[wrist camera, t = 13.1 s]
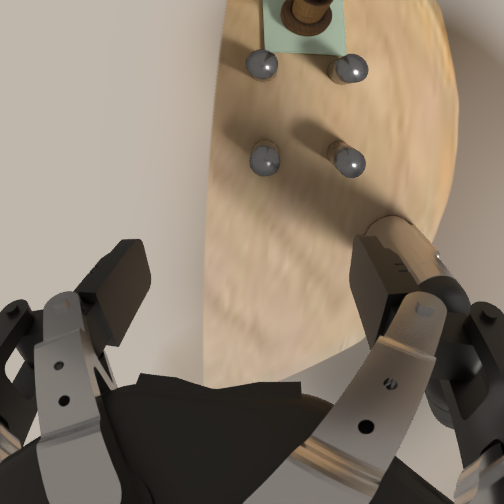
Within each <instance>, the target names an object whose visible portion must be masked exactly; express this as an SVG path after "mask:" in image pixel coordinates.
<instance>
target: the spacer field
mask: <svg viewBox="0 0 504 504" xmlns="http://www.w3.org/2000/svg"><path fill="white" fill-rule="evenodd" d="M246 67H247V70H248V71H249V73H250V74H251V75H252V77H253V78H254V79H256V80H257V81H260V82H267V81H270V80H272V79H273V78H274V77H275V75H276V72H277V67H278V61H277V58H276V56H275V55H274V54H273V53H272V52H270V51H268V50H262V49H261V50H256V51H254V52H252V53H251V54H250V55H249V56H248V58H247V60H246ZM328 75H329V77H330V79H331V80H332V81H333V82H335V83H337V84H340V85H343V84H349V83H355V82H360V81H362V80H364V79H365V78H366V77H367V75H368V65H367V63H366V61H365V60H364V59H363V58H362V57H360V56H358V55H356V54H348V55H345V56H343V57H342V58H340V59H338V60H336V61H334V62H333V63H331V64H330V66H329V68H328ZM327 154H328V158H329V160H330V161H331V162H332V164H333V165H334V166H335V167H336V168H337V169H338V170H339V171H340V172H341V174H342V175H344V176H345V177H348V178H355V177H358V176H360V175H361V174H362V173H363V171H364V170H365V166H366V161H365V158H364V156H363V155H362V154H361V153H360V152H359V151H357V150H356V149H354V148H353V147H351V146H349V145H348V144H346V143H344V142H341V141H338V142H334V143H333V144H331V145H330V147H329V148H328V153H327ZM279 166H280V158H279V151H278V147H277V145H276V144H275V143H274V142H272V141H270V140H261V141H259V142H258V143H256V145H255V146H254V148H253V151H252V154H251V157H250V167H251V169H252V170H253V171H254V172H255V173H256V174H257V175H260V176H270V175H272V174H274V173H275V172H276V171H277V170H278V168H279Z"/></svg>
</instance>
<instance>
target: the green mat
mask: <svg viewBox="0 0 504 504" xmlns="http://www.w3.org/2000/svg"><path fill="white" fill-rule="evenodd" d="M284 2H285V0H263V18H264V41H265V50H268V51H270V52H272V53H299V54H319V55H332V56H342V57H343V56H345V55H346V36H345V20H344V7H343V0H333V2H332V3H331V5H330V8H331V10H332V21H331V23H330V25H329V26H328V27H327V29H326V30H325V31H324V32H322V33H321V34H319V35H316V36H310V37H306V36H300V35H297V34H294V33H292V32H291V31H289V30H288V29H287V28H286V27H285V26H284V24H283V23H282V21H281V16H280V14H281V8H282V5H283V3H284Z"/></svg>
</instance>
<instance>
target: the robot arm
mask: <svg viewBox="0 0 504 504" xmlns="http://www.w3.org/2000/svg"><path fill="white" fill-rule="evenodd" d="M439 256H440V254H439V252H438V251H437V249H436V248H435V247H434V246H433V245H432V244H431V243H430V241H429V240H428V239H427V238H426V237H425V236H424V235H423V234H422V233H421V232H420V230H419V229H418V228H417V227H416V226H415V225H410V224H409V223H408V222H407V221H406V220H404V219H403V218H401V217H397V216H387V217H383V218H381V219H379V220H377V221H376V222H374V223H373V224H372V225H371V226H370V228H369V229H368V230H367V232H366V234H365V235H356V236H355V238H354V243H353V251H352V259H351V266H350V274H349V282H350V288H351V291H352V294H353V297H354V300H355V303H356V306H357V309H358V312H359V315H360V318H361V321H362V324H363V327H364V331H365V334H366V337H367V340H368V344H369V347H370V350H371V351H370V353H369V355H368V356H367V358H366V359H365V361H364V362H363V364H362V365H361V367H360V369H359V370H358V372H357V373H356V375H355V376H354V378H353V379H352V381H351V382H350V384H349V385H348V387H347V388H346V389H345V391H344V392H343V394H342V395H341V396H340V398H339V399H338V401H337V402H336V403H335V405H334V404H332V403H330V402H328V401H326V400H323V399H321V398H318V397H315V396H311V395H308V394H302V393H301V382H256V383H251V384H246V385H240V386H234V387H228V388H222V389H211V388H208V387H204V386H201V385H198V384H194V383H191V382H188V381H185V380H182V379H179V378H176V377H167V376H159V375H150V374H143V373H140V375H139V378H138V381H137V383H136V384H133V385H128V386H123V387H120V388H118V387H117V384H116V382H115V379H114V376H113V373H112V370H111V367H110V364H109V361H108V357H107V355H106V353H105V351H104V348H105V346H106V345H109V346H116V347H119V345H120V343H121V342H122V340H123V338H124V336H125V333H126V332H127V330H128V328H129V326H130V324H131V322H132V320H133V318H134V316H135V314H136V312H137V311H138V309H139V307H140V305H141V303H142V301H143V300H144V298H145V296H146V294H147V292H148V290H149V288H150V285H151V274H150V269H149V266H148V261H147V257H146V253H145V249H144V245H143V242H142V241H141V240H140V239H124V240H121V241H120V242H119V243H118V244H117V246H115V248H114V249H113V250H112V251H111V252H110V253H109V254H107V255H106V256H104V257H103V258H101V259H100V260H99V262H98V263H97V264H96V265H95V267H94V268H93V269H92V270H91V271H90V273H89V274H88V275H87V276H86V277H85V278H84V279H83V280H82V282H81V283H80V284H79V285H78V287H77V288H76V289H75V290H74V291H73V292H72V291H67V292H63V293H59V294H57V295H55V296H54V297H52V298H51V299H50V300H49V301H48V302H47V303H46V304H45V306H44V309H43V310H37V311H32V310H31V309H30V307H29V305H28V303H27V301H26V300H22V299H20V300H16V301H13V302H11V303H10V304H8V305H7V306H6V307H5V308H4V309H3V310H2V311H1V312H0V504H504V314H503V313H502V312H501V310H500V309H498V308H497V307H496V306H494V305H492V304H490V303H487V302H476V303H474V304H472V305H471V304H470V301H469V298H468V296H467V294H466V292H465V291H464V289H463V288H462V287H461V285H460V284H459V283H458V282H457V280H456V279H455V278H454V276H453V275H452V274H451V273H450V271H449V270H448V269H447V267H446V266H445V265H444V264H443V263H442V261H441V260H440V259H439ZM15 348H17V350H18V351H19V353H20V354H21V356H22V357H23V359H24V360H25V362H24V363H23V365H22V367H21V368H20V370H19V372H18V374H17V376H16V377H15V379H14V381H13V383H11V382H10V380H9V379H8V378H7V376H6V374H5V364H6V362H7V360H8V359H9V357H10V355H11V354H12V352H13V351H14V349H15ZM424 392H425V394H426V397H427V399H428V403H429V405H430V408H431V410H432V412H433V414H434V416H435V417H436V419H437V420H438V421H440V423H442V424H443V425H445V426H446V427H449V428H452V429H454V430H455V433H456V438H457V442H458V446H459V450H460V454H461V459H462V464H463V469H464V470H463V471H462V472H461V474H460V475H459V477H458V480H457V485H456V489H455V491H454V499H455V502H453V501H451V500H450V499H449V498H448V497H446V496H445V495H444V494H442V493H441V492H439V491H438V490H437V489H436V488H435V487H433V486H432V485H431V484H429V483H428V482H427V481H426V480H424V479H423V478H422V477H421V476H419V475H418V474H417V473H416V472H414V471H413V470H412V469H411V468H409V467H408V466H407V465H406V464H404V463H403V462H402V461H401V460H400V459H398V458H397V457H396V456H395V454H396V452H397V451H398V449H399V447H400V445H401V443H402V441H403V439H404V437H405V435H406V433H407V431H408V429H409V426H410V424H411V422H412V420H413V418H414V415H415V413H416V411H417V409H418V406H419V404H420V402H421V399H422V397H423V394H424ZM37 411H38V416H39V423H40V430H41V436H40V437H38V438H36V439H35V440H33V441H32V442H30V443H29V444H27V445H25V446H24V447H23V445H24V442H25V439H26V437H27V434H28V432H29V430H30V427H31V425H32V422H33V420H34V418H35V416H36V413H37Z"/></svg>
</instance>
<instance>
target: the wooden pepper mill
mask: <svg viewBox="0 0 504 504" xmlns="http://www.w3.org/2000/svg"><path fill="white" fill-rule="evenodd" d="M332 2H333V0H285V2H284V3H283V5H282V8H281V14H280V16H281V21H282V23H283V24H284V26H285V27H286V28H287V29H288V30H289V31H291V32H292V33H294V34H297V35H300V36H306V37H310V36H316V35H319V34H321V33H322V32H324V31H325V30H326V29H327V27H328V26H329V25H330V23H331V21H332V10H331V8H330V5H331V3H332Z"/></svg>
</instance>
